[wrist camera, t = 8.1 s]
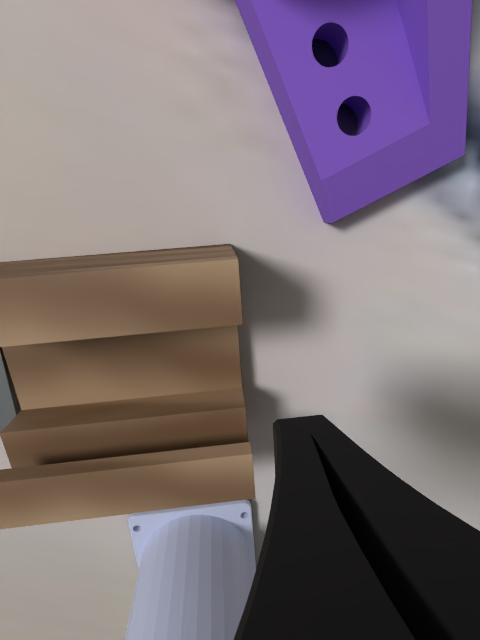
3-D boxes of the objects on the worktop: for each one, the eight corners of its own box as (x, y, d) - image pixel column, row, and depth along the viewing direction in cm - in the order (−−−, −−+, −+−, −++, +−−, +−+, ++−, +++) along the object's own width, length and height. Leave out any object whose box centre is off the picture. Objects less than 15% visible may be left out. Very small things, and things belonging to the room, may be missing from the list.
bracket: (214, -45, 14) (216, -259, 8) (365, -134, 14) (503, -444, 7) (322, 222, 18) (384, 229, 11) (443, 159, 17) (581, 129, 11)
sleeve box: (244, 425, 21) (255, 498, 16) (44, 447, 20) (-14, 530, 15) (230, 243, 18) (238, 259, 12) (-11, 263, 17) (-113, 287, 12)
